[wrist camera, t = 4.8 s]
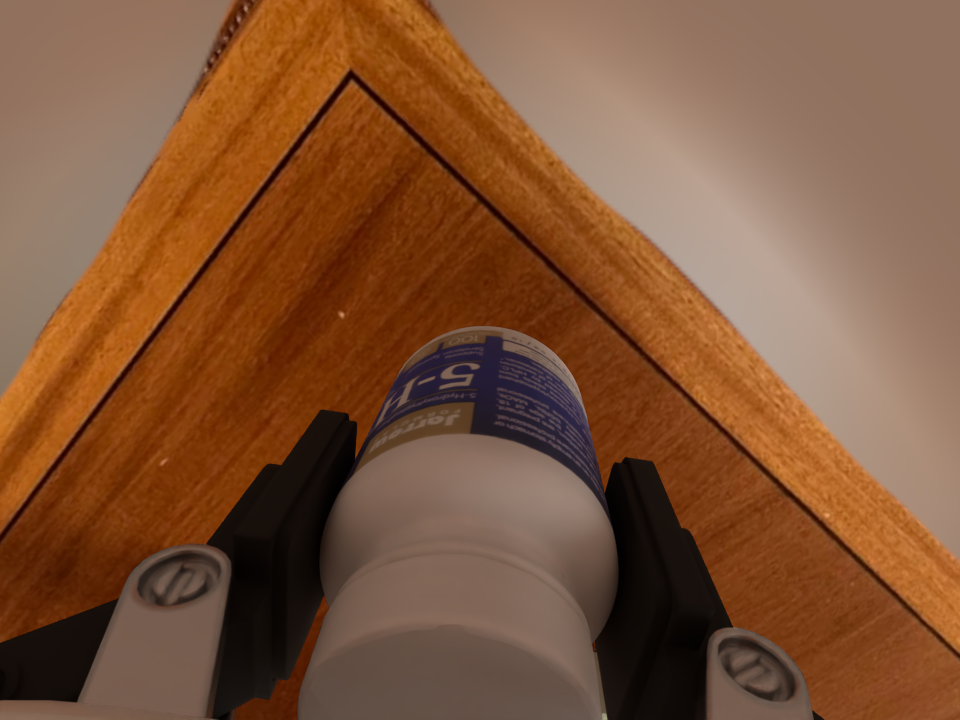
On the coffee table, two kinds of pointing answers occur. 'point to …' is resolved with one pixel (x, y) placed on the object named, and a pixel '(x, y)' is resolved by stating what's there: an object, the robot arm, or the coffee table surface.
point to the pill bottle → (467, 546)
